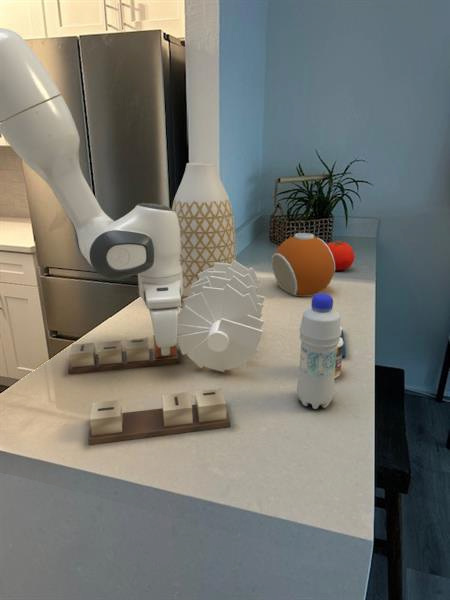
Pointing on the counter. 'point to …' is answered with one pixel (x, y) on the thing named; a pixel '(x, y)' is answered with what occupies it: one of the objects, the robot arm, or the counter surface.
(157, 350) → the s tile
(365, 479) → the counter surface
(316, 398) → the bottle
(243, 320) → the spiral staircase
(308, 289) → the alarm clock
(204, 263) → the vase
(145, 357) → the back rack
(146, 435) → the front rack
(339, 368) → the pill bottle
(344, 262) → the tomato
